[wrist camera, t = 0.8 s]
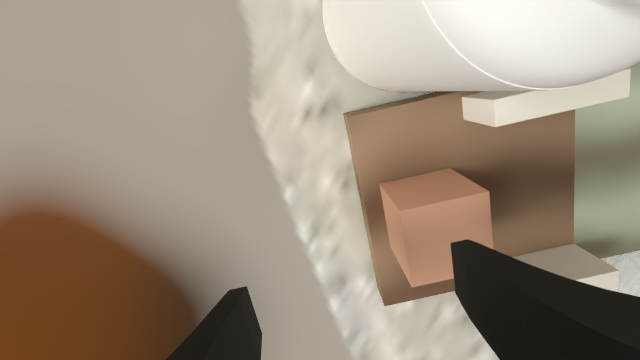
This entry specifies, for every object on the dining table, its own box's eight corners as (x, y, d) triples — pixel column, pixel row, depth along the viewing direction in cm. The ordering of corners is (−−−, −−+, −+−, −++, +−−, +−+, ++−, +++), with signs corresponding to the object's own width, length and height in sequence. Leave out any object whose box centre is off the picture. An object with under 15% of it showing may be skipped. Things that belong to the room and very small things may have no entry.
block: (456, 232, 19) (494, 269, 16) (390, 246, 19) (411, 287, 16) (450, 168, 18) (489, 191, 14) (379, 184, 18) (399, 211, 14)
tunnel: (573, 260, 20) (618, 289, 17) (478, 281, 20) (507, 314, 18) (575, 70, 17) (630, 68, 14) (461, 96, 17) (493, 100, 14)
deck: (718, 211, 22) (758, 224, 20) (377, 286, 23) (384, 306, 21) (747, 20, 19) (798, 13, 17) (343, 113, 19) (347, 117, 17)
